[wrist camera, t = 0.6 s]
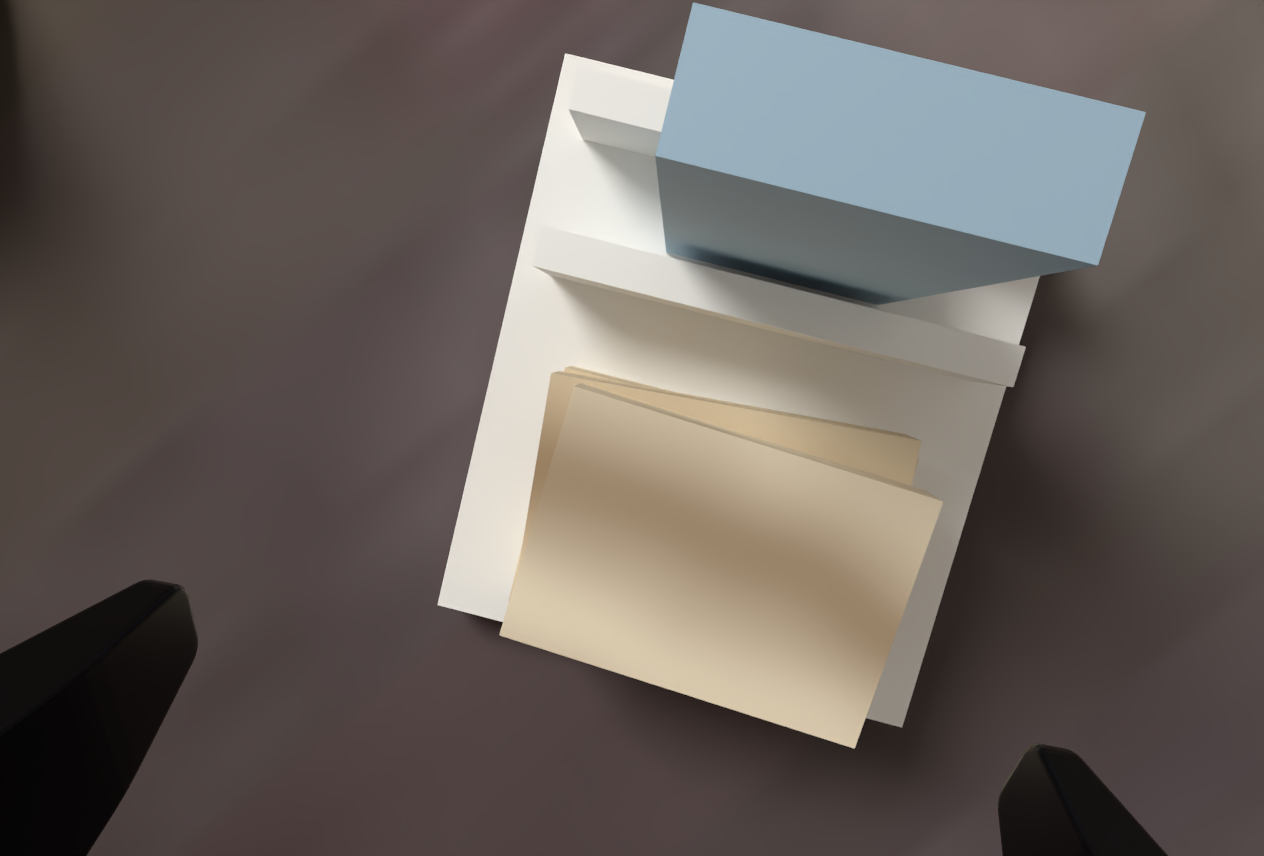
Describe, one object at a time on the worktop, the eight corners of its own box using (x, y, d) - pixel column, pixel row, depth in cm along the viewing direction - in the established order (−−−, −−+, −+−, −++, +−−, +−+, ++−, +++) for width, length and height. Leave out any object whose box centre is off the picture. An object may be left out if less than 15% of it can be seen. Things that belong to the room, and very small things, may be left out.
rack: (888, 705, 25) (934, 782, 21) (451, 589, 26) (404, 641, 21) (1045, 187, 24) (1131, 151, 19) (572, 71, 24) (548, 9, 20)
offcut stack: (837, 676, 24) (874, 754, 19) (513, 591, 24) (475, 648, 20) (908, 432, 23) (964, 454, 19) (572, 347, 23) (547, 348, 19)
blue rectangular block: (877, 305, 23) (1097, 265, 11) (666, 252, 23) (655, 156, 11) (897, 233, 23) (1146, 112, 11) (684, 180, 23) (693, 1, 11)
